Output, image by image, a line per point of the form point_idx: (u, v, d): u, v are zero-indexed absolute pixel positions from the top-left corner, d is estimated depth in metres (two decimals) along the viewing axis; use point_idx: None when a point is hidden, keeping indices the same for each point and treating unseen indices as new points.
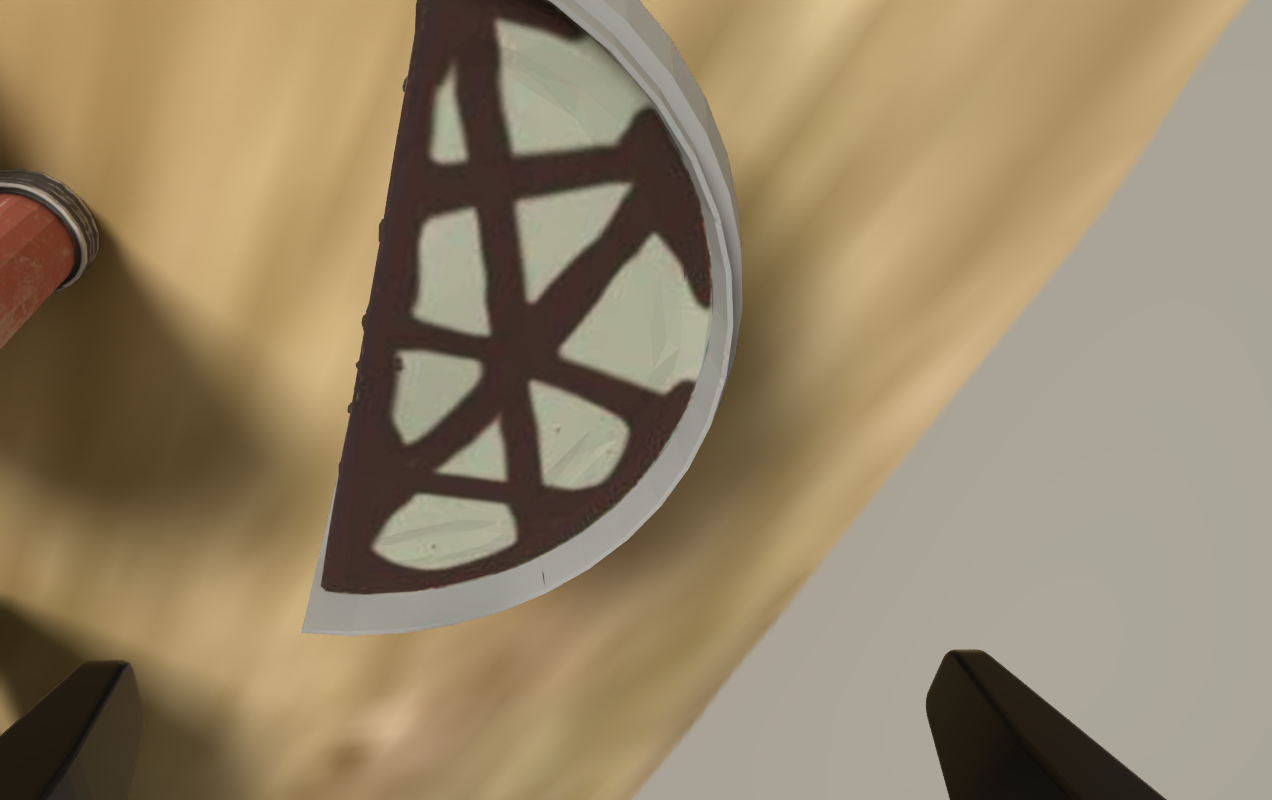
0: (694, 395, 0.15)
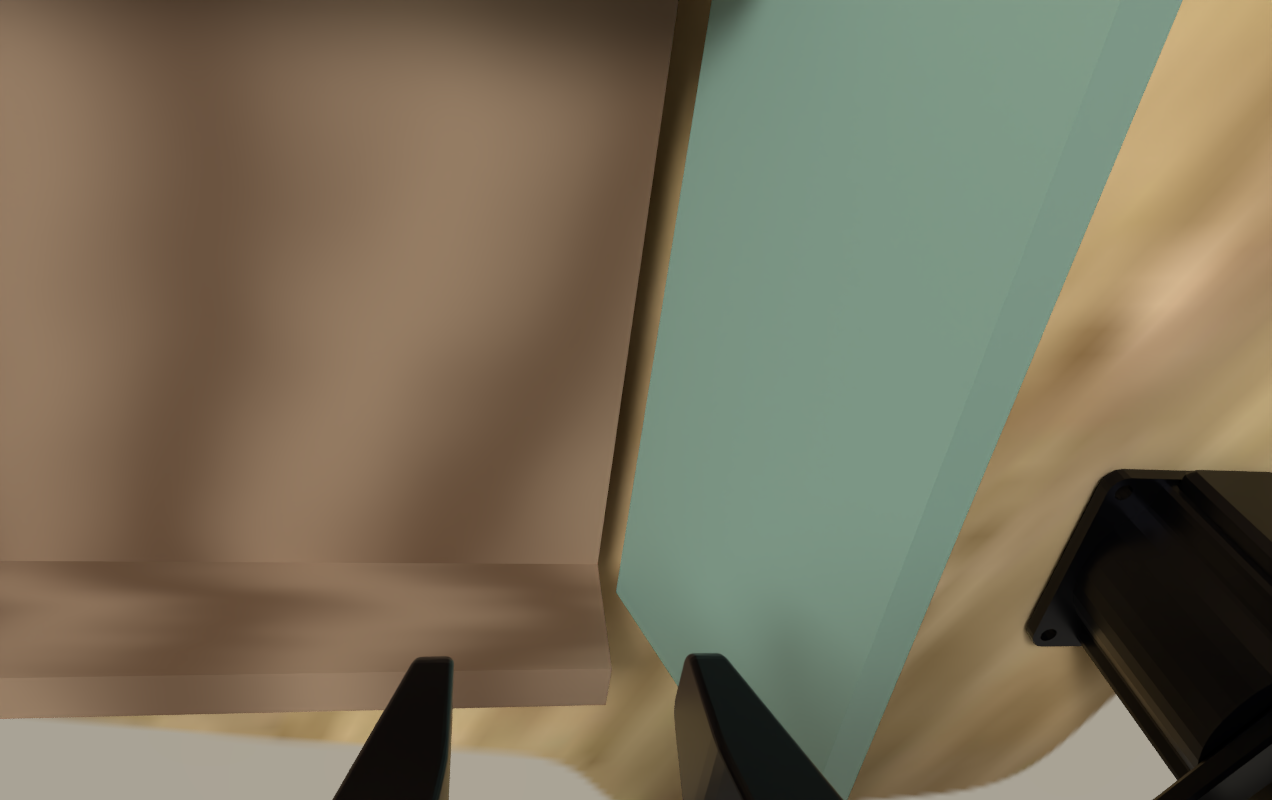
0: None
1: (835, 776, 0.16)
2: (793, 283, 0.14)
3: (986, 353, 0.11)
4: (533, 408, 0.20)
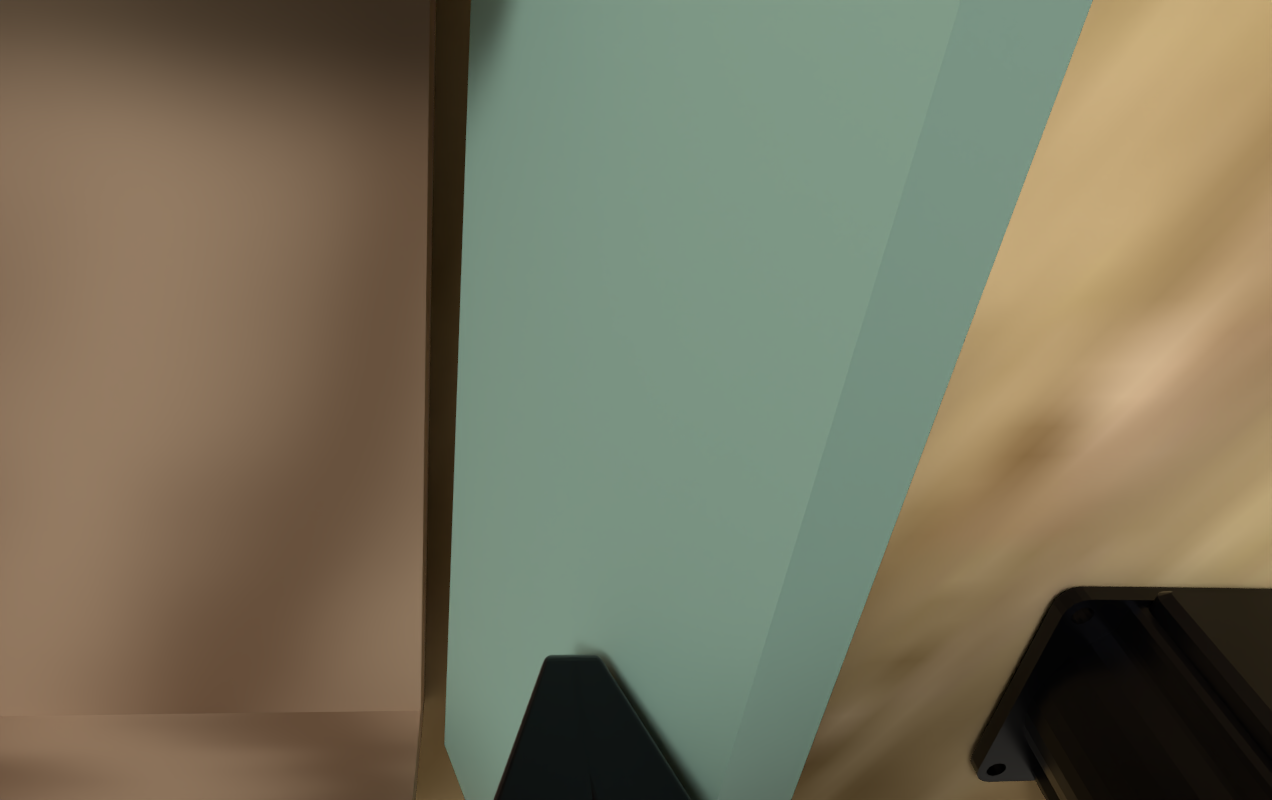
0: None
1: None
2: (566, 426, 0.10)
3: (778, 608, 0.07)
4: (307, 536, 0.15)
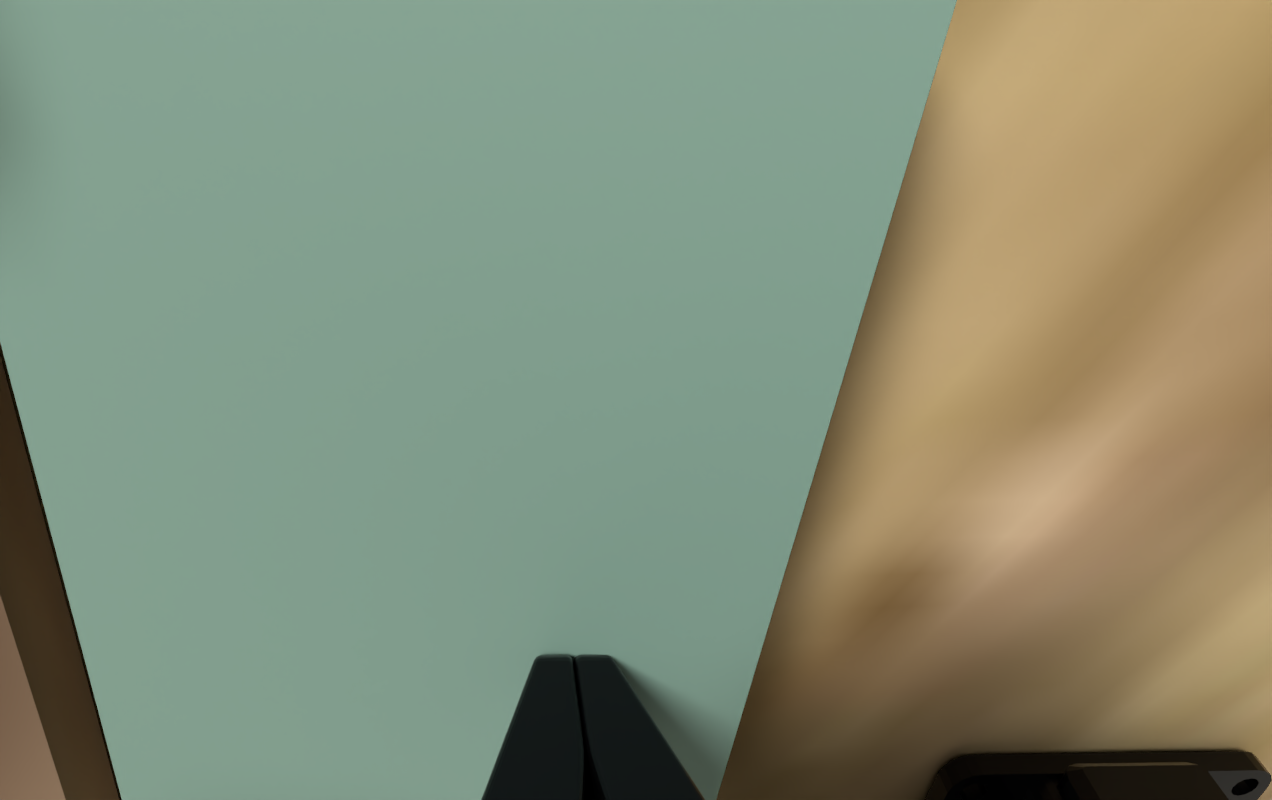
0: None
1: None
2: (406, 503, 0.09)
3: None
4: None
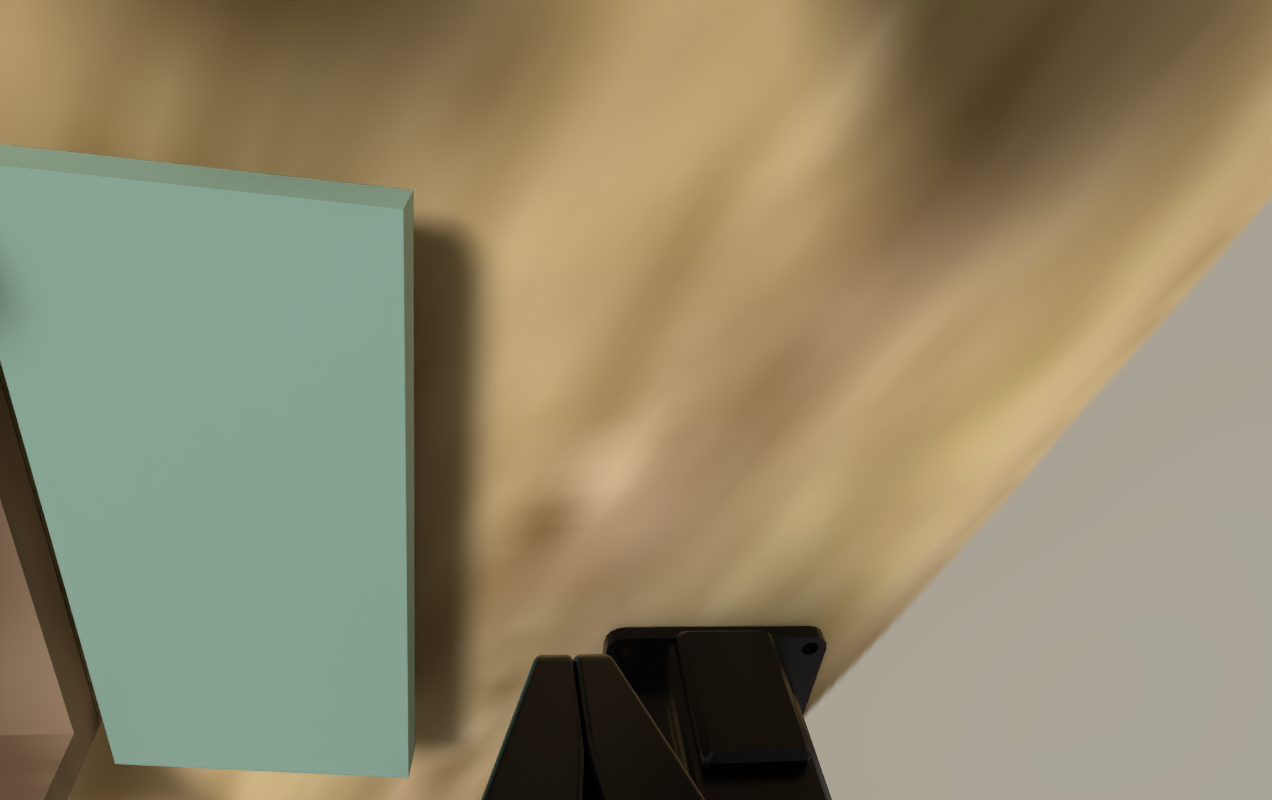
0: None
1: (410, 710, 0.23)
2: (216, 457, 0.18)
3: (405, 439, 0.18)
4: None
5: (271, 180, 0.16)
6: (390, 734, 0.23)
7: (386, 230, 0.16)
